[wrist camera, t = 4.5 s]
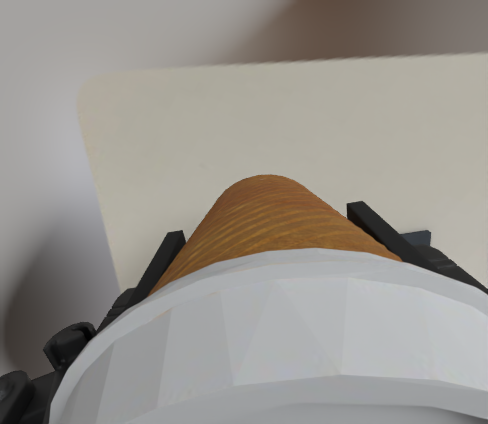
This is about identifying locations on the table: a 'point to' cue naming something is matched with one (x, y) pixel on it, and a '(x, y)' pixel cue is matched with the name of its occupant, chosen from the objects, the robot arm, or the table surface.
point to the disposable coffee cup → (286, 329)
